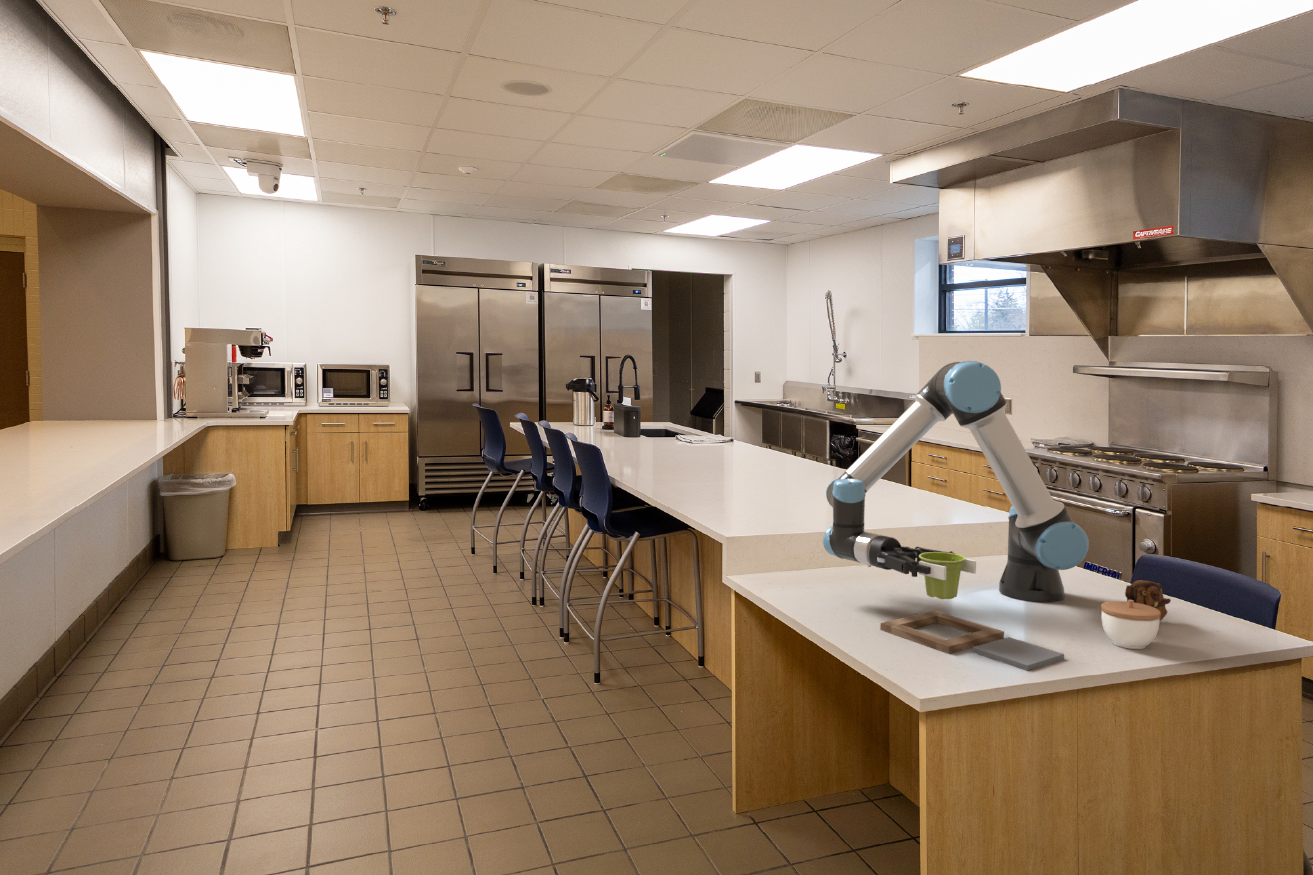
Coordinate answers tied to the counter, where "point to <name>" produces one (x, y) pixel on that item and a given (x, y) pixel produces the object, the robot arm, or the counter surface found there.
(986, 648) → the charcoal mat
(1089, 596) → the counter surface
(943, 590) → the plant pot
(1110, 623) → the lidded jar
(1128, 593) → the wooden carving
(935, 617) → the walnut frame
